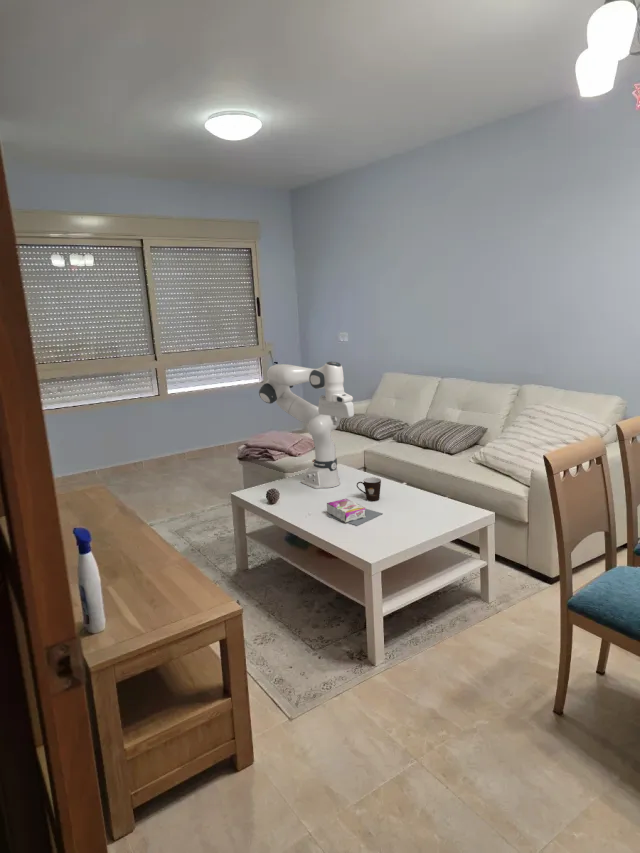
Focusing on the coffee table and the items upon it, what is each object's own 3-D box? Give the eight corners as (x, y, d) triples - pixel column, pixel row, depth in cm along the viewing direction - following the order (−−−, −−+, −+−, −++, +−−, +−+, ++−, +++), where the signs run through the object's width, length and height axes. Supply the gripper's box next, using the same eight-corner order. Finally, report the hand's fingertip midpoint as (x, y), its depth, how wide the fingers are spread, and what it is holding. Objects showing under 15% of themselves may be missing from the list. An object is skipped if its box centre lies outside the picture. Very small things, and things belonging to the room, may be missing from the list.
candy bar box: (346, 497, 269) (366, 507, 256) (346, 507, 270) (366, 517, 257) (326, 502, 264) (345, 512, 250) (326, 512, 265) (345, 523, 251)
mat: (327, 516, 261) (327, 516, 261) (353, 505, 273) (353, 505, 273) (357, 526, 248) (356, 525, 248) (382, 514, 261) (382, 513, 261)
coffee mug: (385, 498, 281) (384, 479, 279) (374, 503, 275) (373, 483, 273) (366, 494, 289) (366, 475, 287) (355, 498, 283) (355, 479, 281)
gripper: (314, 395, 272) (316, 424, 275) (346, 399, 258) (347, 428, 261) (323, 394, 276) (325, 421, 279) (355, 397, 262) (356, 426, 265)
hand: (336, 425), depth 270 cm, fingers closed
